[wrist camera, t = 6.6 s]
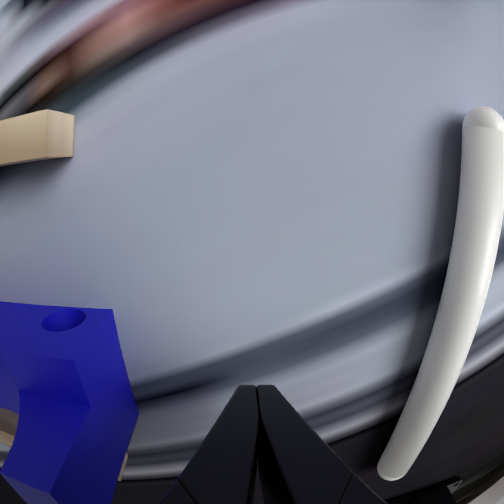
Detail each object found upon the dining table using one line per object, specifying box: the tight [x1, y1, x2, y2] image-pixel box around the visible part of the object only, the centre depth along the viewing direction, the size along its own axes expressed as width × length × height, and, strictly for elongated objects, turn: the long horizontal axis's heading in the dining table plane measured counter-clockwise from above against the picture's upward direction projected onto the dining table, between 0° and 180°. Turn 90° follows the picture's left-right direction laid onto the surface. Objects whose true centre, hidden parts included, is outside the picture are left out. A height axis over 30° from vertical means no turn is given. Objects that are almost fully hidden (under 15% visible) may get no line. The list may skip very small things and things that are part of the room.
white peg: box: [377, 106, 504, 481], centre depth 9 cm, size 16×2×2 cm, turn 178°
